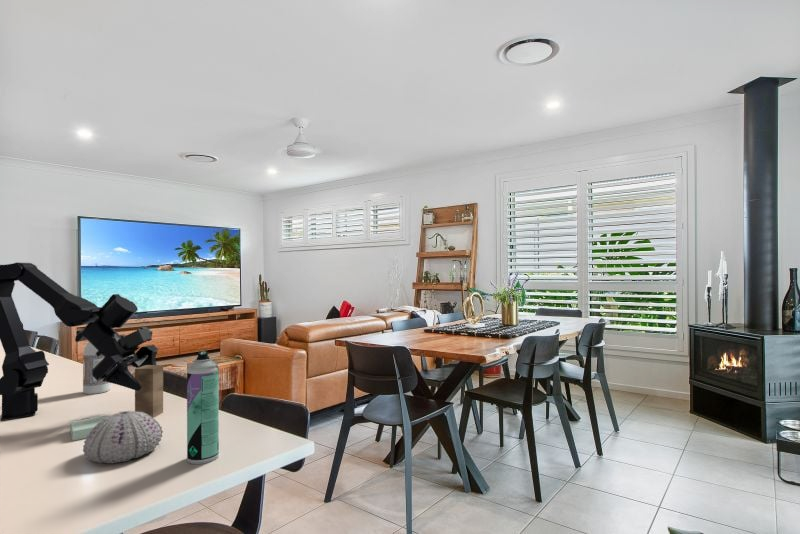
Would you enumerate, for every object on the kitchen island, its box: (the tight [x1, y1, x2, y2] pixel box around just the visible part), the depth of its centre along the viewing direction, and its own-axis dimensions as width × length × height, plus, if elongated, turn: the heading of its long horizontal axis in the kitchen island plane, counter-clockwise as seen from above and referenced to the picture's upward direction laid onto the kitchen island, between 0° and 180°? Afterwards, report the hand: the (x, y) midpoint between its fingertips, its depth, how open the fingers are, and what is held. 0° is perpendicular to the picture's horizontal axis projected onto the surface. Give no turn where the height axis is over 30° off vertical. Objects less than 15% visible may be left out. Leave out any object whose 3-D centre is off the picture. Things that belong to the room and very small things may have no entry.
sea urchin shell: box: [82, 410, 164, 464], centre depth 88 cm, size 13×14×8 cm
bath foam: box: [82, 341, 112, 395], centre depth 136 cm, size 7×7×20 cm
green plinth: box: [69, 414, 111, 442], centre depth 100 cm, size 8×8×2 cm
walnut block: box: [134, 364, 164, 419], centre depth 112 cm, size 4×4×12 cm
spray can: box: [186, 351, 220, 465], centre depth 85 cm, size 6×6×20 cm
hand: (151, 384), depth 112 cm, fingers open, 9 cm apart
